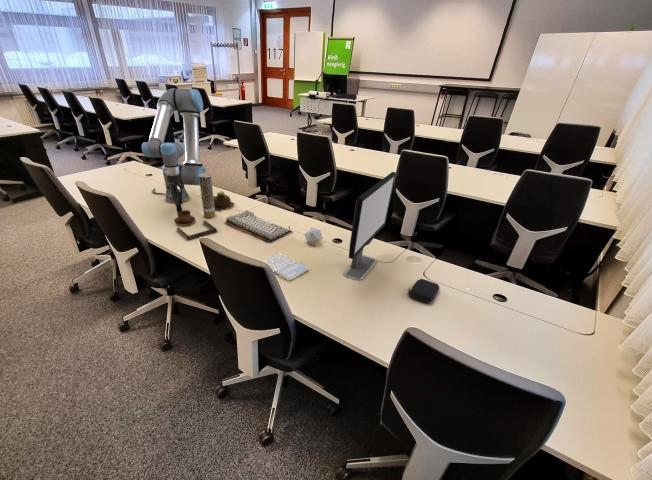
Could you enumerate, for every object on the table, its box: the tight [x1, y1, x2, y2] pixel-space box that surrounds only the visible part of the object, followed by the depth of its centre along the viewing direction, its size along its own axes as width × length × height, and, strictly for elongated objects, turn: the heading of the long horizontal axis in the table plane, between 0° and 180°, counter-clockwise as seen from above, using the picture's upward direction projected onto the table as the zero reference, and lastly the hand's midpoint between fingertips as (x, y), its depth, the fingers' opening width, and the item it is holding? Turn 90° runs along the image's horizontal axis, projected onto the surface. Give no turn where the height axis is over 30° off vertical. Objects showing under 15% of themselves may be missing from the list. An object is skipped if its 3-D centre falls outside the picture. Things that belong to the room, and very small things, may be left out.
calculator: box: [262, 252, 309, 281], centre depth 155 cm, size 13×20×2 cm, turn 47°
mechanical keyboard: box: [224, 210, 293, 243], centre depth 189 cm, size 38×19×3 cm, turn 50°
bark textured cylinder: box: [199, 172, 216, 219], centre depth 194 cm, size 7×7×25 cm
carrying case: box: [407, 278, 441, 304], centre depth 141 cm, size 11×3×15 cm
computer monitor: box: [344, 171, 397, 281], centre depth 146 cm, size 41×8×40 cm, turn 148°
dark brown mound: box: [213, 190, 235, 211], centre depth 212 cm, size 17×16×10 cm
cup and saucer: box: [173, 209, 196, 226], centre depth 191 cm, size 12×12×6 cm
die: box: [304, 226, 323, 247], centre depth 174 cm, size 8×9×10 cm
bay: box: [176, 220, 218, 241], centre depth 183 cm, size 14×17×2 cm
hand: (180, 214), depth 195 cm, fingers closed
